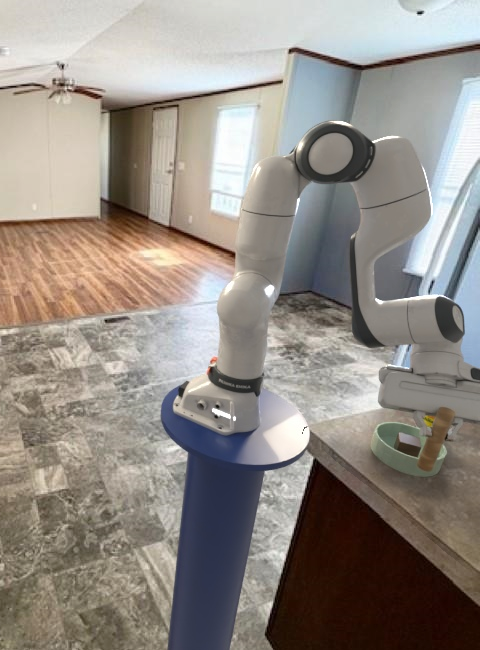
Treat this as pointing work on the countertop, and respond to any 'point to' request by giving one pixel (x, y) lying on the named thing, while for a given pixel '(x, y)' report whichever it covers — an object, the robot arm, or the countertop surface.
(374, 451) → the bowl
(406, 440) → the block
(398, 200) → the robot arm
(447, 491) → the countertop surface
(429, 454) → the wooden cylinder
